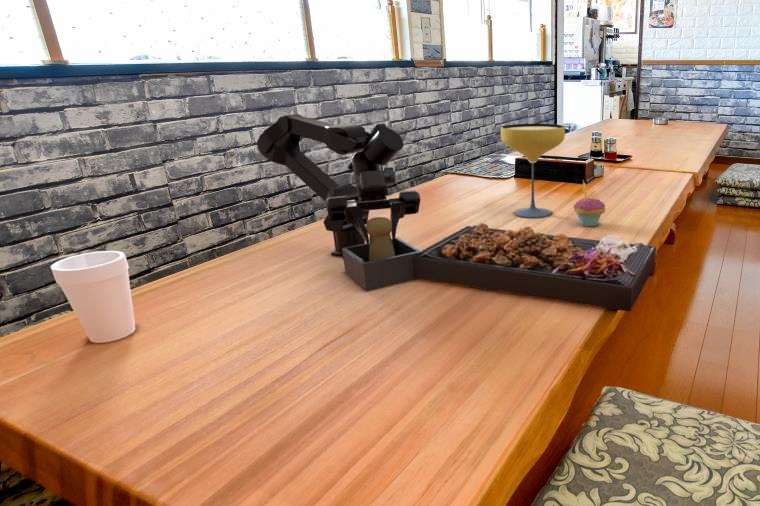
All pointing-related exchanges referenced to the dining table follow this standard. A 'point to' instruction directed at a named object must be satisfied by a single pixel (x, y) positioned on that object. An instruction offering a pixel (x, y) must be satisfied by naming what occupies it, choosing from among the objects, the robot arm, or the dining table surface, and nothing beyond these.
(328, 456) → the dining table surface
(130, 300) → the foam cup
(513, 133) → the cocktail glass
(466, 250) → the food platter
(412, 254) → the dark grey open box
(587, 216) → the cupcake
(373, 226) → the cork
